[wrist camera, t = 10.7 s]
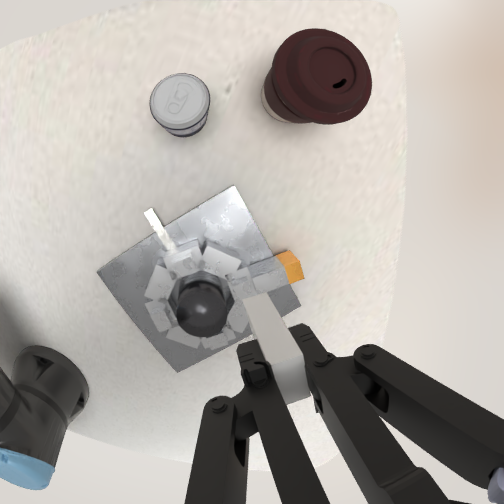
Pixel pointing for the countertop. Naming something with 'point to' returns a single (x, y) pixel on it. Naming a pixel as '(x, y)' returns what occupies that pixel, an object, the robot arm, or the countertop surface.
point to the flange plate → (184, 230)
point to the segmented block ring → (225, 266)
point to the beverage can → (180, 104)
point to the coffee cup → (317, 79)
